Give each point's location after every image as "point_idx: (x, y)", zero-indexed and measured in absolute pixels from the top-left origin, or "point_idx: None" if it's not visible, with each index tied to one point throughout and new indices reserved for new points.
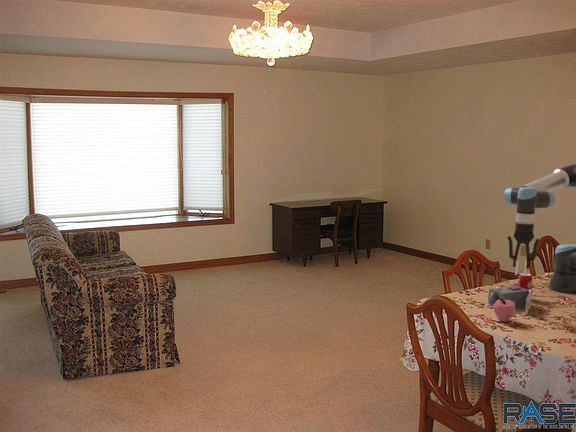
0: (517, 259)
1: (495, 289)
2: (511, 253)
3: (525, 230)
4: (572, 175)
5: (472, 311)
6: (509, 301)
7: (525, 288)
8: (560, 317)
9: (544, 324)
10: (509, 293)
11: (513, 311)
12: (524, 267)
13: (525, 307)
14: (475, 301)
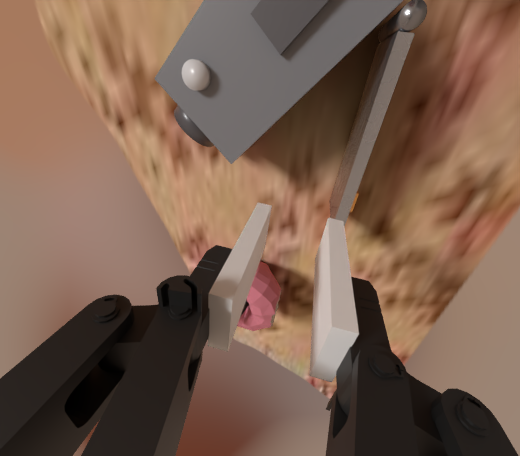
0: (217, 297)
1: (186, 86)
2: (87, 420)
3: None
4: None
5: (169, 212)
6: (256, 314)
7: None
8: (478, 192)
9: (373, 277)
10: (261, 135)
11: (274, 315)
12: (313, 312)
13: (330, 213)
14: (143, 72)
